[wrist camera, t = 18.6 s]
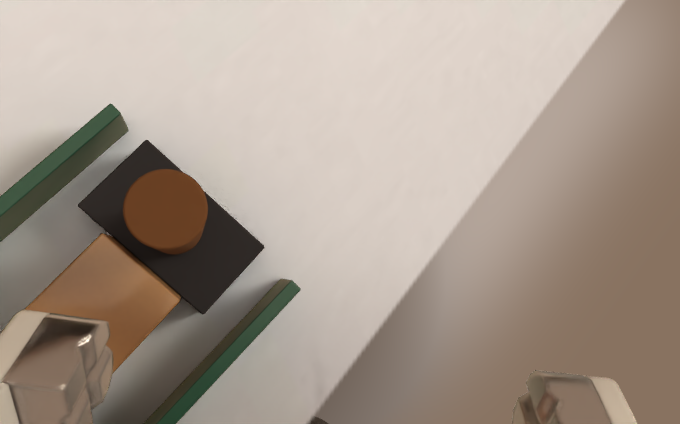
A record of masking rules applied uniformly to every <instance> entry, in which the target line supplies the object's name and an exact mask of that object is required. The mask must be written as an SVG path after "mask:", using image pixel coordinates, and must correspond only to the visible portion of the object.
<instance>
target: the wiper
mask: <svg viewBox="0 0 680 424" xmlns="http://www.w3.org/2000/svg"><path fill="white" fill-rule="evenodd" d="M78 207H80V208H81V209H82V210H83V211H84V212H85V213H86V214H88V215H89V216H90V217H91V218H92V219H93V220H94V221H96V222H97V223H98V224H99V225H100V226H101V227H102V228H104V229H105V230H106V231H107V232H108V233H109V234H111V235H112V236H113V237H114V238H115V239H116V240H117V241H119V242H120V243H121V244H122V245H123V246H124V247H125V248H127V249H128V250H129V251H130V252H131V253H132V254H133V255H135V256H136V257H137V258H138V259H139V260H140V261H142V262H143V263H144V264H145V265H146V266H147V267H148V268H150V269H151V270H152V271H153V272H154V273H155V274H156V275H158V276H159V277H160V278H161V279H162V280H163V281H164V282H166V283H167V284H168V285H169V286H170V287H171V288H173V289H174V290H175V291H176V292H177V293H178V294H179V295H181V296H182V297H183V298H184V299H185V300H186V301H187V302H189V303H190V304H191V305H192V306H193V307H194V308H196V309H197V310H198V311H199V312H200V313H201V314H204V313H205V312H206V311H207V310H208V309H209V308H210V307H211V306H212V305H213V304H214V302H215V301H216V300H217V299H218V298H219V297H220V296H221V295H222V294H223V293H224V291H225V290H226V289H227V288H228V287H229V286H230V285H231V284H232V283H233V282H234V280H235V279H236V278H237V277H238V276H239V275H240V274H241V273H242V272H243V271H244V269H245V268H246V267H247V266H248V265H249V264H250V263H251V262H252V261H253V260H254V259H255V257H256V256H257V255H258V254H259V253H260V252H261V251H262V250H263V249H264V245H262V244H261V243H260V242H259V241H258V240H257V239H256V238H255V237H254V236H253V235H251V234H250V233H249V232H248V231H247V230H246V229H245V228H244V227H243V226H242V225H240V224H239V223H238V222H237V221H236V220H235V219H234V218H233V217H232V216H231V215H229V214H228V213H227V212H226V211H225V210H224V209H223V208H222V207H221V206H220V205H218V204H217V203H216V202H215V201H214V200H213V199H212V198H211V197H210V196H209V195H207V194H206V193H205V192H204V191H203V190H202V188H201V187H200V185H199V184H198V183H197V182H196V181H195V180H194V179H193V178H192V177H190V176H188V175H187V174H185V173H183V172H182V171H181V170H180V169H179V168H178V167H177V166H176V165H174V164H173V163H172V162H171V161H170V160H169V159H168V158H167V157H166V156H165V155H163V154H162V153H161V152H160V151H159V150H158V149H157V148H156V147H155V146H154V145H152V144H151V143H150V142H149V141H148V140H145V141H144V142H143V143H142V144H141V145H140V146H139V147H138V148H137V149H136V150H135V151H134V152H133V153H132V154H131V155H130V156H129V157H128V158H127V159H125V160H124V161H123V162H122V163H121V164H120V165H119V166H118V167H117V168H116V169H115V170H114V171H113V172H112V173H111V174H110V175H109V176H108V177H107V178H106V179H104V180H103V181H102V182H101V183H100V184H99V185H98V186H97V187H96V188H95V189H94V190H93V191H92V192H91V193H90V194H89V195H88V196H87V197H86V198H85V199H84V200H82V201H81V202H80V203H79V204H78Z"/></svg>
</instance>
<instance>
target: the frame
mask: <svg viewBox="0 0 680 424" xmlns="http://www.w3.org/2000/svg"><path fill="white" fill-rule="evenodd" d="M127 131H128V128H127V126H126V123H125V121H124V119H123V117H122V115H121V113H120V112H119V111H118V110H117V109H116V108H115V107H114V106H113V105H112V104H109V105H108V106H107V107H106V108H104V109H103V110H102V111H101V112H100V113H98V114H97V115H96V116H95V117H94V118H93V119H91V120H90V121H89V122H88V123H87V124H85V125H84V126H83V127H82V128H81V129H80V130H78V131H77V132H76V133H75V134H74V135H72V136H71V137H70V138H69V139H68V140H67V141H65V142H64V143H63V144H62V145H61V146H59V147H58V148H57V149H56V150H55V151H53V152H52V153H51V154H50V155H49V156H48V157H46V158H45V159H44V160H43V161H42V162H40V163H39V164H38V165H37V166H36V167H35V168H33V169H32V170H31V171H30V172H29V173H27V174H26V175H25V176H24V177H23V178H21V179H20V180H19V181H18V182H17V183H16V184H14V185H13V186H12V187H11V188H10V189H8V190H7V191H6V192H5V193H4V194H3V195H1V196H0V242H1V241H2V240H3V239H4V238H5V237H7V236H8V235H9V234H10V233H11V232H12V231H13V230H15V229H16V228H17V227H18V226H19V225H20V224H22V223H23V222H24V221H25V220H26V219H27V218H28V217H30V216H31V215H32V214H33V213H34V212H35V211H37V210H38V209H39V208H40V207H41V206H42V205H43V204H45V203H46V202H47V201H48V200H49V199H50V198H51V197H53V196H54V195H55V194H56V193H57V192H58V191H60V190H61V189H62V188H63V187H64V186H65V185H66V184H68V183H69V182H70V181H71V180H72V179H73V178H74V177H76V176H77V175H78V174H79V173H80V172H81V171H83V170H84V169H85V168H86V167H87V166H88V165H89V164H91V163H92V162H93V161H94V160H95V159H96V158H97V157H99V156H100V155H101V154H102V153H103V152H104V151H106V150H107V149H108V148H109V147H110V146H111V145H112V144H114V143H115V142H116V141H117V140H118V139H119V138H121V137H122V136H123V135H124V134H125V133H126V132H127ZM299 291H300V288H299V287H298V286H297V285H296V284H295V283H294V282H293V281H292V280H286V279H280V280H279V281H278V282H277V283H276V284H275V285H274V287H273V288H272V289H271V290H270V291H269V292H268V293H267V294H266V295H265V296H264V297H263V298H262V299H261V300H260V301H259V302H258V303H257V304H256V305H255V307H254V308H253V309H252V310H251V311H250V312H249V313H248V314H247V315H246V316H245V317H244V318H243V319H242V320H241V321H240V322H239V323H238V324H237V325H236V327H235V328H234V329H233V330H232V331H231V332H230V333H229V334H228V335H227V336H226V337H225V338H224V339H223V340H222V341H221V342H220V343H219V344H218V345H217V347H216V348H215V349H214V350H213V351H212V352H211V353H210V354H209V355H208V356H207V357H206V358H205V359H204V360H203V361H202V362H201V363H200V364H199V365H198V367H197V368H196V369H195V370H194V371H193V372H192V373H191V374H190V375H189V376H188V377H187V378H186V379H185V380H184V381H183V382H182V383H181V384H180V385H179V387H178V388H177V389H176V390H175V391H174V392H173V393H172V394H171V395H170V396H169V397H168V398H167V399H166V400H165V401H164V402H163V403H162V404H161V405H160V407H159V408H158V409H157V410H156V411H155V412H154V413H153V414H152V415H151V416H150V417H149V418H148V419H147V420H146V421H145V422H144V423H143V424H176V423H177V422H178V421H179V420H180V419H181V418H182V417H183V416H184V415H185V413H186V412H187V411H188V410H189V409H190V408H191V407H192V406H193V405H194V404H195V403H196V402H197V401H198V399H199V398H200V397H201V396H202V395H203V394H204V393H205V392H206V391H207V390H208V389H209V388H210V387H211V386H212V384H213V383H214V382H215V381H216V380H217V379H218V378H219V377H220V376H221V375H222V374H223V373H224V372H225V370H226V369H227V368H228V367H229V366H230V365H231V364H232V363H233V362H234V361H235V360H236V359H237V358H238V357H239V355H240V354H241V353H242V352H243V351H244V350H245V349H246V348H247V347H248V346H249V345H250V344H251V343H252V341H253V340H254V339H255V338H256V337H257V336H258V335H259V334H260V333H261V332H262V331H263V330H264V329H265V328H266V326H267V325H268V324H269V323H270V322H271V321H272V320H273V319H274V318H275V317H276V316H277V315H278V314H279V312H280V311H281V310H282V309H283V308H284V307H285V306H286V305H287V304H288V303H289V302H290V301H291V300H292V299H293V297H294V296H295V295H296V294H297V293H298V292H299Z"/></svg>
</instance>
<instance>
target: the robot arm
mask: <svg viewBox="0 0 680 424" xmlns="http://www.w3.org/2000/svg"><path fill="white" fill-rule="evenodd" d="M110 335H111V334H110V328H109V323H108V322H107V321H104V320H98V319H91V318H84V317H77V316H70V315H63V314H56V313H46V312H39V311H31V310H24V309H23V310H21V311H20V312H18V313H17V314H15V315H14V316H13V318H12V319H11V320H10V322H9V323H8V324H7V326H6V327H5V328H4V330H3V331H2V332H1V334H0V424H93V420H92V413H91V410H92V409H93V408H94V407H96V406H97V405H99V404H100V403H102V402H103V400H104V398H105V395H106V393H107V391H108V388H109V385H110V381H111V377H112V373H113V362H114V360H113V351H112V350H111V349H110V348H109V347H108V346H107V345H106V343H107V341H108V339H109V337H110ZM526 385H527V388H528V391H529V392H528V393H526V394H524V395H522V396H521V397H519V398H518V400H517V402H516V405H515V407H514V409H513V418H512V424H637V421H636V420H635V417H634V416H633V414H632V412H631V410H630V408H629V406H628V404H627V402H626V400H625V398H624V396H623V394H622V392H621V390H620V388H619V386H618V384H617V383H616V382H615V381H614V380H612V379H610V378H602V377H593V376H583V375H576V374H566V373H556V372H547V371H537V370H535V371H534V372H533V373H531V374H530V376H529V378H528V380H527V382H526Z"/></svg>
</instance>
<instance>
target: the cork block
mask: <svg viewBox="0 0 680 424" xmlns="http://www.w3.org/2000/svg"><path fill="white" fill-rule="evenodd" d="M180 299H181V295H179V294H178V293H177V292H176V291H175V290H174V289H173V288H171V287H170V286H169V285H168V284H167V283H166V282H164V281H163V280H162V279H161V278H160V277H159V276H158V275H156V274H155V273H154V272H153V271H152V270H151V269H150V268H148V267H147V266H146V265H145V264H144V263H143V262H142V261H140V260H139V259H138V258H137V257H136V256H135V255H133V254H132V253H131V252H130V251H129V250H128V249H127V248H125V247H124V246H123V245H122V244H121V243H120V242H119V241H117V240H116V239H115V238H114V237H112V236H109V235H106V234H103V233H102V234H101V235H100V236H99V237H98V238H96V239H95V240H94V241H93V242H92V243H91V244H90V245H89V246H88V247H87V248H86V249H85V250H84V251H83V252H82V253H81V254H80V255H79V256H78V257H77V258H76V259H75V260H74V261H73V262H72V263H71V264H70V265H69V266H68V267H67V268H66V269H65V270H64V271H63V272H62V273H61V274H60V275H59V276H58V277H57V278H56V279H55V280H54V281H53V282H52V283H51V284H50V285H49V286H48V287H47V288H46V289H45V290H44V291H43V292H42V293H41V294H40V295H39V296H38V297H37V298H36V299H34V300H33V301H32V302H31V303H30V304H29V305H28V306H27V307H26V308H25V309H24V310H31V311H39V312H46V313H56V314H63V315H70V316H77V317H84V318H91V319H98V320H104V321H107V322H108V323H109V328H110V334H111V335H110V337H109V339H108V341H107V343H106V345H107V346H108V347H109V348H110V349H111V350H112V351H113V360H114V362H113V373H114V371H115V370H116V369H117V368H118V367H119V366H120V365H121V364H122V363H123V362H124V361H125V360H126V359H127V358H128V356H129V355H130V354H131V353H132V352H133V351H134V350H135V349H136V348H137V347H138V346H139V345H140V344H141V342H142V341H143V340H144V339H145V338H146V337H147V336H148V335H149V334H150V333H151V332H152V331H153V330H154V329H155V327H156V326H157V325H158V324H159V323H160V322H161V321H162V320H163V319H164V318H165V317H166V316H167V315H168V314H169V312H170V311H171V310H172V309H173V308H174V307H175V306H176V305H177V304H178V303H179V301H180ZM113 373H112V374H113Z"/></svg>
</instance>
